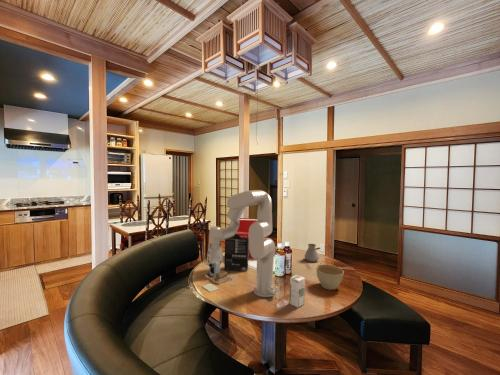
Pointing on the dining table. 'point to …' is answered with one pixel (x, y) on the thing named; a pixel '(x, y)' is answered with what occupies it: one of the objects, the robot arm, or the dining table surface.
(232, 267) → the graphics card box
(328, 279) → the planter bowl
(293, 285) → the syrup box
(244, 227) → the book
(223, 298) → the dining table surface
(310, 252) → the coffee pot
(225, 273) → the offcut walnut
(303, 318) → the dining table surface
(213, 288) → the mat
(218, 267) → the panel
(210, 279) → the rack
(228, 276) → the offcut oak
